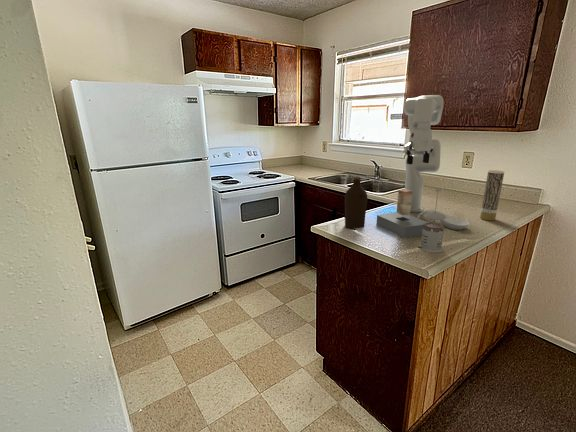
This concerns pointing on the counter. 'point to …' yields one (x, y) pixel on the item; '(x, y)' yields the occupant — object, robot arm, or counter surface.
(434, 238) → the french press
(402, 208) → the plug
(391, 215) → the socket block
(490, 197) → the paper tube
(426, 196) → the counter surface
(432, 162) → the robot arm
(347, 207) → the olive oil
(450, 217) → the spoon rest
